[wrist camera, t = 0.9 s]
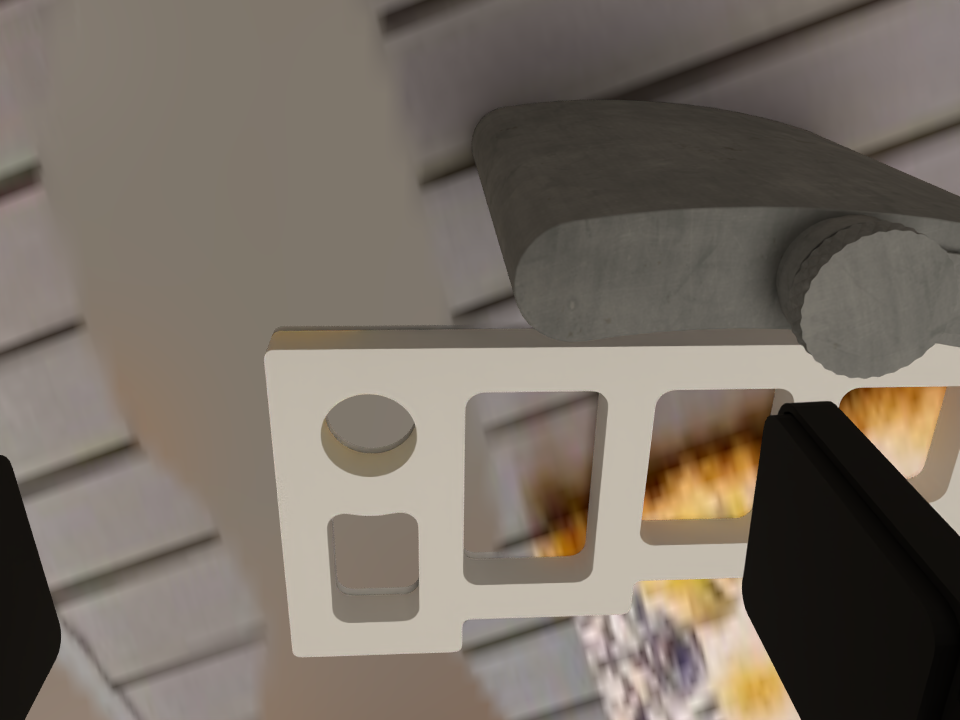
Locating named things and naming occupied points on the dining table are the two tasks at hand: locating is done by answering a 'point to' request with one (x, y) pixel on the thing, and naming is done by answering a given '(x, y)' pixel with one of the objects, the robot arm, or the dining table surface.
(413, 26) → the dining table surface
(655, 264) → the hip flask
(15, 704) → the robot arm
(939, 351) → the holder
